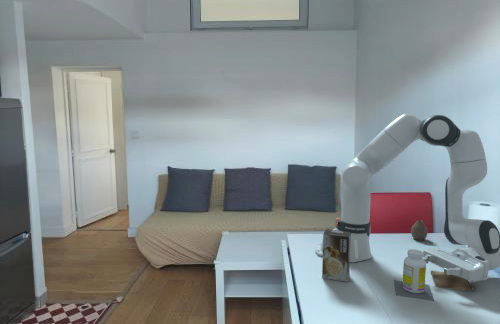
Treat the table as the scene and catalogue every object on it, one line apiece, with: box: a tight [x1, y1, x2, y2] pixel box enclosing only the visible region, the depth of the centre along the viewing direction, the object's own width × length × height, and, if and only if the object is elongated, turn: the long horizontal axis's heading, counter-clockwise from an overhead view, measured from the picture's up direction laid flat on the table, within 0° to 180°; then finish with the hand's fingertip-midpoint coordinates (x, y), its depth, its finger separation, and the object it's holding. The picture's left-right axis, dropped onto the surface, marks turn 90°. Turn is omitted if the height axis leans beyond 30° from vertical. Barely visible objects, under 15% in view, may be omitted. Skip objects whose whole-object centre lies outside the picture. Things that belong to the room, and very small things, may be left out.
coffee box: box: [321, 228, 351, 283], centre depth 129 cm, size 9×6×16 cm
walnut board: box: [430, 270, 474, 292], centre depth 127 cm, size 11×11×1 cm
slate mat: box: [393, 279, 435, 301], centre depth 120 cm, size 11×11×1 cm
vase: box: [410, 219, 428, 241], centre depth 170 cm, size 7×7×9 cm
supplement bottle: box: [402, 248, 427, 293], centre depth 119 cm, size 7×7×13 cm
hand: (433, 266), depth 122 cm, fingers open, 8 cm apart
